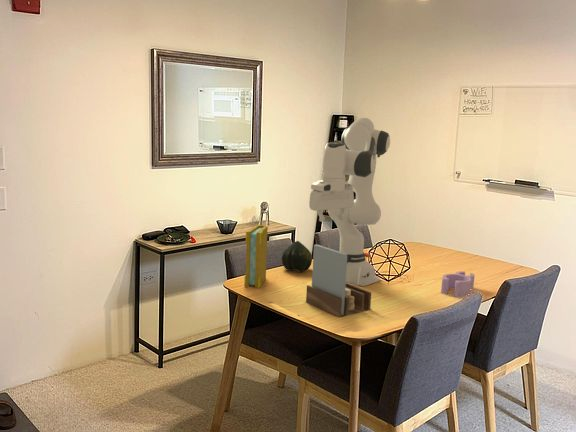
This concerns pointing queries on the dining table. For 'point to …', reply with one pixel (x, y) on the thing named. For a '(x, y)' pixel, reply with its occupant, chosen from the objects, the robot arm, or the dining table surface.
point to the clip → (458, 283)
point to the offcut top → (347, 292)
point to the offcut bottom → (351, 306)
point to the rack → (339, 301)
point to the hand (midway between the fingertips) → (331, 220)
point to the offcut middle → (351, 299)
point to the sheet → (330, 272)
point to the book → (256, 255)
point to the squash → (297, 257)
